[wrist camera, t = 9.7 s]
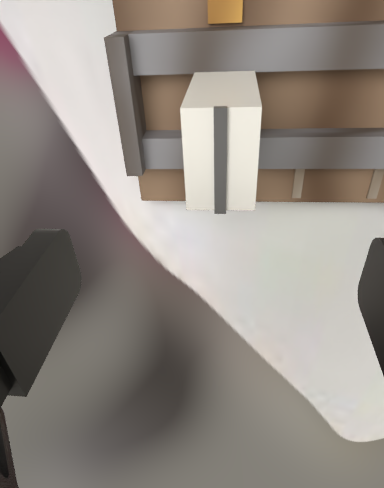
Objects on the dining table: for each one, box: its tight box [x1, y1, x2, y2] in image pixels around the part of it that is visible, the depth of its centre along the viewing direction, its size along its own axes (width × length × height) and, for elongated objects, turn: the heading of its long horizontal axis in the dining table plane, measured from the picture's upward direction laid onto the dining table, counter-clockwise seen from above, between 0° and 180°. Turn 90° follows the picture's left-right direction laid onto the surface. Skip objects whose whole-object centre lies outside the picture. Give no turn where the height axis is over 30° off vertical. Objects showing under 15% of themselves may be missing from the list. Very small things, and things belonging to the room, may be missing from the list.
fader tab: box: [180, 71, 262, 214], centre depth 18 cm, size 3×4×9 cm, turn 2°
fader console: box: [104, 0, 384, 203], centre depth 21 cm, size 26×14×4 cm, turn 92°
